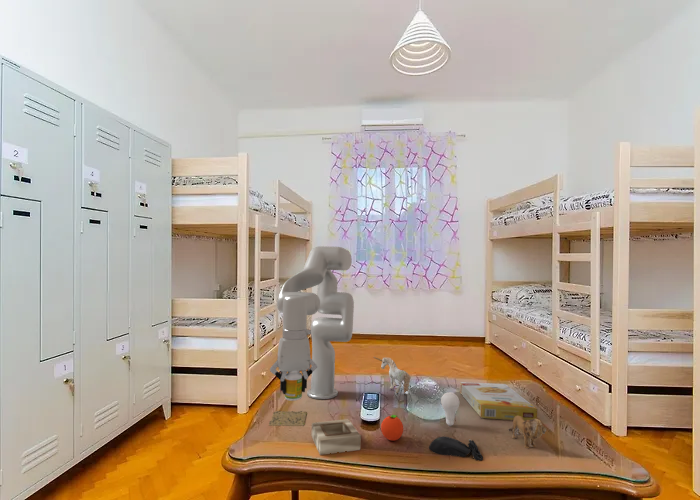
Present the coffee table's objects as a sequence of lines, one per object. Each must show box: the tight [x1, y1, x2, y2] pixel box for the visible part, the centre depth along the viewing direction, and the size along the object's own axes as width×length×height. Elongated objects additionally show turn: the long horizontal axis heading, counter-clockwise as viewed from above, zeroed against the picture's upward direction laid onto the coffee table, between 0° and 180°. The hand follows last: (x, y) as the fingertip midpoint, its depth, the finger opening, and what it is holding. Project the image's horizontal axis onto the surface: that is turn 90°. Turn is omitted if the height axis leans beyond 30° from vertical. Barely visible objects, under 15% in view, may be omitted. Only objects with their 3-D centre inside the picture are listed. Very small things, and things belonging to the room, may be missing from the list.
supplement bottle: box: [284, 371, 303, 402], centre depth 116 cm, size 5×5×10 cm
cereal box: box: [459, 381, 538, 421], centre depth 144 cm, size 20×6×28 cm
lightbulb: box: [440, 391, 461, 427], centre depth 125 cm, size 6×6×11 cm
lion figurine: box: [508, 416, 548, 449], centre depth 114 cm, size 15×5×9 cm, turn 15°
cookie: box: [268, 410, 308, 427], centre depth 127 cm, size 12×12×1 cm
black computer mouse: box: [428, 436, 484, 462], centre depth 107 cm, size 10×15×4 cm
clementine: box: [380, 414, 404, 441], centre depth 114 cm, size 8×7×7 cm
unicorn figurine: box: [373, 356, 411, 394], centre depth 159 cm, size 7×20×13 cm, turn 45°
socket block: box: [310, 418, 362, 456], centre depth 110 cm, size 12×12×4 cm
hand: (293, 391), depth 116 cm, fingers closed on supplement bottle, 5 cm apart
